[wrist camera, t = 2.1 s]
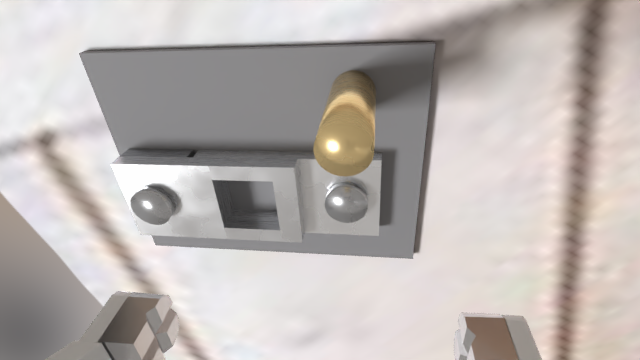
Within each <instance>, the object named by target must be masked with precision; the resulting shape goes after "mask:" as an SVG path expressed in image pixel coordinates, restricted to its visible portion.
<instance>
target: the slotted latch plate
mask: <svg viewBox="0 0 640 360" xmlns="http://www.w3.org/2000/svg"><path fill="white" fill-rule="evenodd" d="M381 162H382V152H374V157H373V160H372V162H371V164H370V165H369V166H368V167H367V168H366V169H365V170H364V171H363V172H361V173H359V174H356V175H353V176H345V177H344V176H337V175H333V174H331V173H329V172H327V171H326V170H324V169H323V168H322V167H321V166H320V165H319V164H318V162H317V161H316V158H315V156H314V151H263V150H198V152H197V153H196V154H194V151H193V150H189V149H127V150H126V151H125V152H124V153H123V154H122V155H121V156H119V157H118V158H117V159H116V160H115V161H114V162H113V163H111V166H112V168H113V171H114V173H115V175H116V178H117V180H118V182H119V185H120V187H121V190H122V192H123V194H124V197H125V199H126V201H127V204H128V206H129V209H130V211H131V213H132V216H133V218H134V220H135V223H136V225H137V228H138V230H139V232H140V235H155V236H175V237H196V238H216V239H237V240H257V241H278V242H298V243H303V239H304V235H305V233H323V234H346V235H368V236H379V217H380V190H381ZM227 180H231V181H270V182H273V187H274V194H275V201H276V207H277V211H262V210H235V209H234V208H233V204H232V200H231V195H230V191H229V187H228V182H227Z"/></svg>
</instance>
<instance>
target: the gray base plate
mask: <svg viewBox="0 0 640 360" xmlns="http://www.w3.org/2000/svg"><path fill="white" fill-rule="evenodd" d="M435 45H436V44H435V42H408V43H371V44H334V45H297V46H260V47H223V48H186V49H148V50H111V51H84V52H81V53H79V55H80V57H81V60H82V62H83V65H84V67H85V70H86V72H87V75H88V77H89V80H90V82H91V85H92V87H93V90H94V92H95V95H96V97H97V100H98V102H99V105H100V107H101V110H102V112H103V115H104V117H105V120H106V122H107V125H108V127H109V130H110V132H111V135H112V137H113V140H114V142H115V145H116V147H117V150H118V152H119V155H120V156H121V155H122V154H123V153H124V152H125V151H126V150H127V149H189V150H193V151H194V154H196V153H197V152H198V150H263V151H314V149H313V147H314V142H315V139H316V135H317V132H318V129H319V126H320V123H321V119H322V116H323V113H324V110H325V106H326V103H327V100H328V97H329V93H330V90H331V87H332V84H333V82H334V80H335V79H336V78H337V77H338V76H339V75H340V74H342V73H344V72H346V71H351V70H356V71H361V72H363V73H365V74H367V75H368V76H369V77H370V78H371V79H372V81H373V82H374V84H375V88H376V110H375V146H374V152H382V162H381V190H380V217H379V236H368V235H346V234H323V233H305V235H304V239H303V243H298V242H278V241H257V240H237V239H216V238H196V237H175V236H155V235H152V237H153V240H154V242H155V245H162V246H181V247H200V248H219V249H238V250H257V251H276V252H295V253H314V254H333V255H352V256H371V257H390V258H409V259H413V252H414V243H415V233H416V224H417V215H418V205H419V196H420V186H421V177H422V168H423V158H424V149H425V139H426V130H427V120H428V111H429V102H430V92H431V83H432V73H433V64H434V55H435ZM227 182H228V187H229V191H230V195H231V200H232V204H233V208H234V209H235V210H262V211H277V207H276V201H275V194H274V187H273V182H270V181H231V180H227Z"/></svg>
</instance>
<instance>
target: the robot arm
mask: <svg viewBox="0 0 640 360" xmlns="http://www.w3.org/2000/svg"><path fill="white" fill-rule="evenodd" d="M171 305H172V301H171V299H170V297H169V295H158V294H146V293H135V292H121V291H118V292H116V293H115V294H113V295H112V296H111V297H110V299H109V300H108V301H107V303H106V304H105V305H104V307H103V308H102V310H101V311H100V313H99V314H98V315H97V317H96V318H95V319H94V321H93V322H92V323H91V325H90V326H89V328H88V329H87V330H86V332H85V333H84V335H83V336H82V337H81V339H80V340H79V341H73V342H71V343H70V344H68V345H67V346H65V347H64V348H62V349H61V350H59V351H58V352H56V353H55V354H53V355H52V356H50V357H49V358H47V359H45V360H166V359H165V354H164V353H165V352H166V351H167V350H168V349H170V348H171V347H172V346H173V345H174V342H175V340H176V338H177V335H178V330H179V318H178V315H177V313H176V312H175V311H173V310H172V309H171V308H170V307H171ZM458 323H459V328H460V329H459V330H457V331H456V333H455V338H454V355H455V360H542V358H541V356H540V353H539V351H538V348H537V346H536V343H535V341H534V338H533V336H532V333H531V331H530V328H529V326H528V323H527V321H526V319H525V318H524V317H523V316H514V315H500V314H485V313H463V312H462V313H461V314H460V315H459V319H458Z"/></svg>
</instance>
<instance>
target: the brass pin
mask: <svg viewBox="0 0 640 360" xmlns="http://www.w3.org/2000/svg"><path fill="white" fill-rule="evenodd" d="M375 110H376V88H375V84H374V82H373V81H372V79H371V78H370V77H369V76H368V75H367V74H365V73H363V72H361V71H356V70H351V71H346V72H344V73H342V74H340V75H339V76H338V77H337V78H336V79H335V80H334V82H333V84H332V87H331V90H330V93H329V97H328V100H327V103H326V106H325V110H324V113H323V116H322V119H321V123H320V126H319V129H318V132H317V135H316V139H315V142H314V147H313V149H314V156H315V158H316V161H317V162H318V164H319V165H320V166H321V167H322V168H323V169H324V170H326V171H327V172H329V173H331V174H333V175H337V176H344V177H345V176H353V175H356V174H359V173H361V172H363V171H364V170H365V169H366V168H367V167H368V166H369V165H370V164H371V162H372V160H373V157H374V146H375Z"/></svg>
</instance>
